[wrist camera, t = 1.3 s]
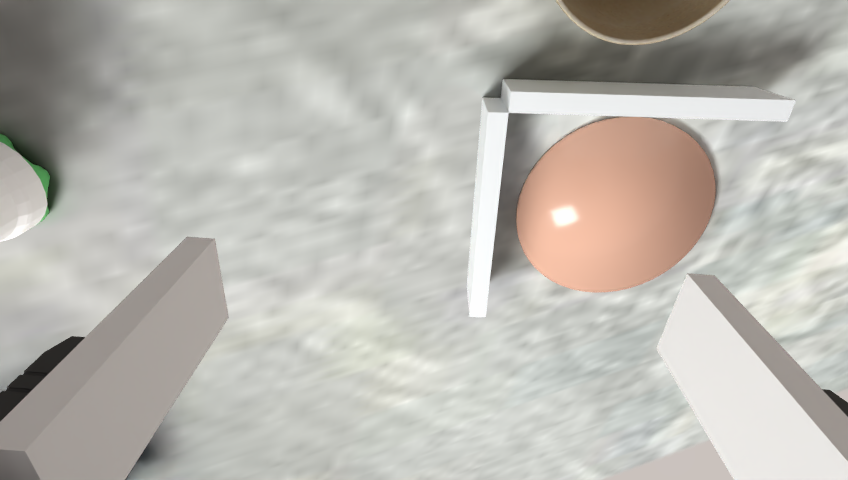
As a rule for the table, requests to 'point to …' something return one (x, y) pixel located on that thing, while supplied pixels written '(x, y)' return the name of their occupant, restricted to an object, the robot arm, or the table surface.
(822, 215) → the table surface
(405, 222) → the table surface
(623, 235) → the coaster
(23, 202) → the cup
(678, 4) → the flower pot
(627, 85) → the acrylic walls
